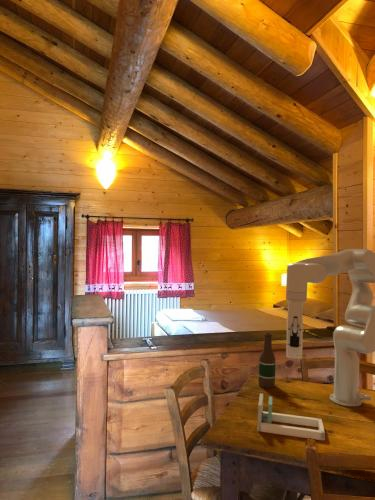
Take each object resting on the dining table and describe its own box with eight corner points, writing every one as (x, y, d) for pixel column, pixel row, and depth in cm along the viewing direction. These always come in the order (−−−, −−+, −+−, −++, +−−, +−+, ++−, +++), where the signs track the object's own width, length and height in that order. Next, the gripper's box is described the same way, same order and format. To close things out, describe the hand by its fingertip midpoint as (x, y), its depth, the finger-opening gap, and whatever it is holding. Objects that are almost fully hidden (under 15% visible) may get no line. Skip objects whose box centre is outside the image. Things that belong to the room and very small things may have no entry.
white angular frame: (321, 425, 137) (322, 400, 137) (324, 440, 127) (325, 413, 126) (259, 417, 142) (259, 393, 142) (257, 431, 132) (258, 405, 132)
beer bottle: (262, 389, 172) (264, 335, 172) (254, 382, 179) (256, 332, 179) (278, 387, 174) (279, 335, 174) (269, 381, 181) (271, 331, 181)
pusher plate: (271, 421, 140) (272, 396, 140) (271, 430, 132) (271, 404, 132) (263, 420, 140) (264, 395, 140) (262, 429, 133) (263, 403, 133)
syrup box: (302, 359, 139) (303, 319, 139) (285, 357, 140) (287, 318, 140) (301, 355, 144) (303, 317, 144) (285, 353, 146) (286, 315, 146)
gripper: (286, 293, 152) (284, 338, 152) (285, 298, 135) (283, 349, 135) (306, 294, 150) (304, 340, 150) (307, 299, 133) (305, 351, 133)
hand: (294, 344), depth 142 cm, fingers closed on syrup box, 5 cm apart
